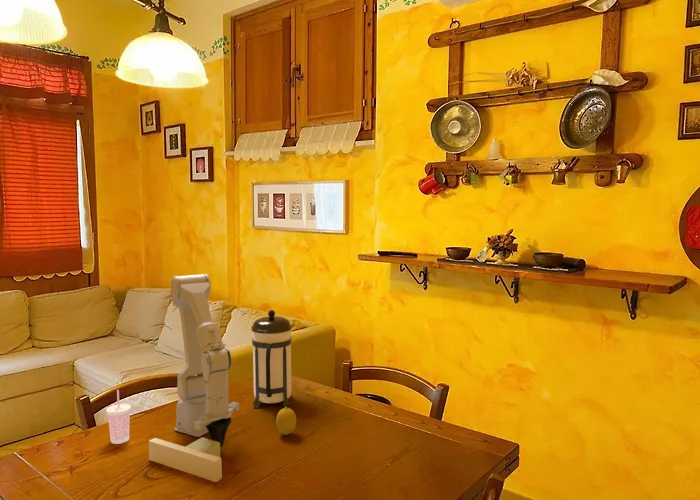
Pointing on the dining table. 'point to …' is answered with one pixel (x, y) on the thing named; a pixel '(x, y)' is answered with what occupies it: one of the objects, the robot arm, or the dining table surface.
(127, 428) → the beverage cup
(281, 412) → the lemon
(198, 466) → the board
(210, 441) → the block
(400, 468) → the dining table surface
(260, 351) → the coffee press
